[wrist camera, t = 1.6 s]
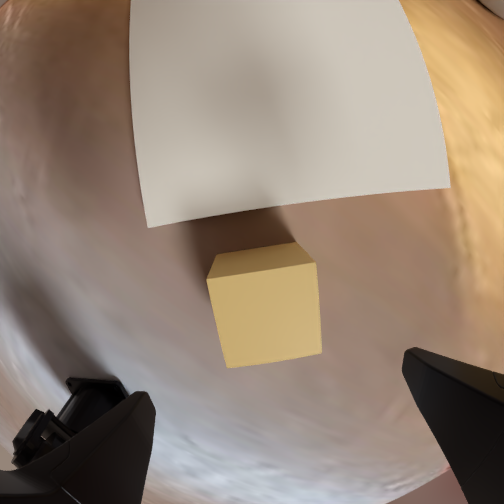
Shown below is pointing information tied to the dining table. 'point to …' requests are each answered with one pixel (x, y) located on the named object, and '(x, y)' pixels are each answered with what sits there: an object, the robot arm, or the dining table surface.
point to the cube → (266, 304)
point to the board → (278, 104)
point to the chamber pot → (495, 6)
